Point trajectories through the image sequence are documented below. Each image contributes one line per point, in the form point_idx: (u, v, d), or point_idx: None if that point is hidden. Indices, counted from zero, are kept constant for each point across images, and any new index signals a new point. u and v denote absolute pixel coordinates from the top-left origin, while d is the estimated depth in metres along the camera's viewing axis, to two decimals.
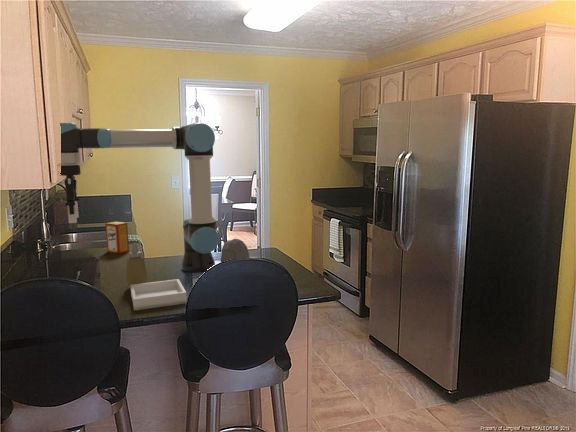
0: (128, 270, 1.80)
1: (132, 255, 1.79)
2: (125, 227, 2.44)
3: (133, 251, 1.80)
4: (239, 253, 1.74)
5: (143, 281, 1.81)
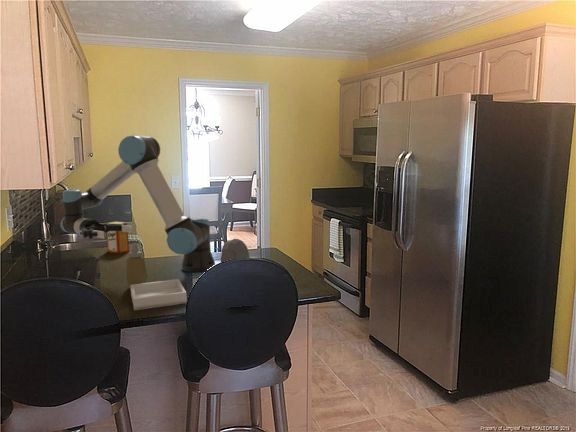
0: (128, 270, 1.80)
1: (132, 255, 1.79)
2: None
3: (133, 251, 1.80)
4: (239, 253, 1.74)
5: (143, 281, 1.81)
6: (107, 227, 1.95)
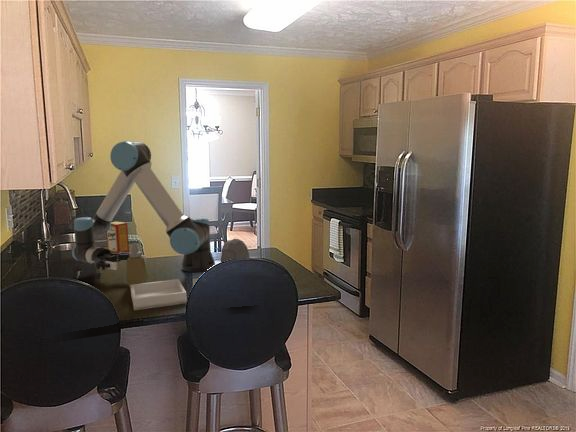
0: (128, 270, 1.80)
1: (132, 255, 1.79)
2: (125, 227, 2.44)
3: (133, 251, 1.80)
4: (239, 253, 1.74)
5: (143, 281, 1.81)
6: (119, 256, 1.92)
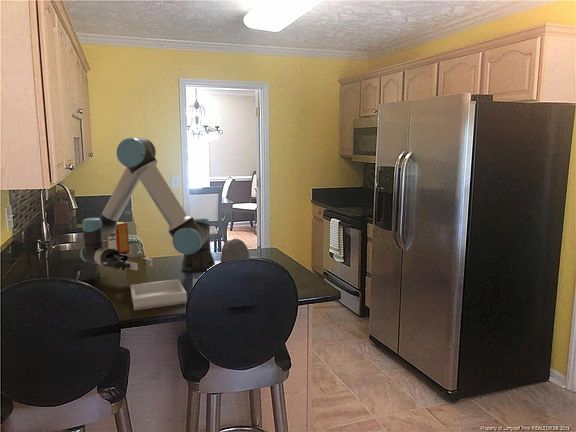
0: (128, 270, 1.80)
1: (132, 255, 1.79)
2: (125, 227, 2.44)
3: (133, 251, 1.80)
4: (239, 253, 1.74)
5: (143, 281, 1.81)
6: (127, 258, 1.88)
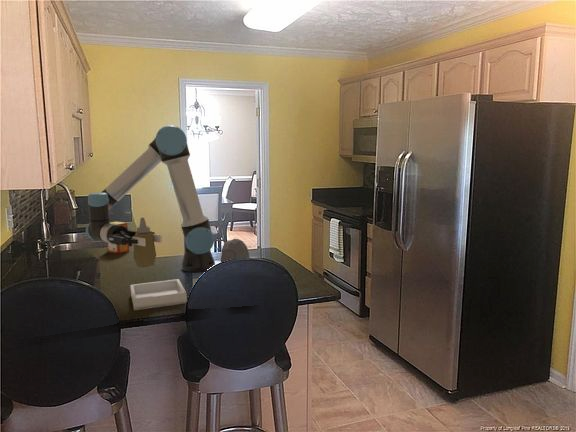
0: (135, 246, 1.67)
1: (140, 230, 1.66)
2: None
3: (141, 226, 1.67)
4: (239, 253, 1.74)
5: (151, 258, 1.68)
6: None
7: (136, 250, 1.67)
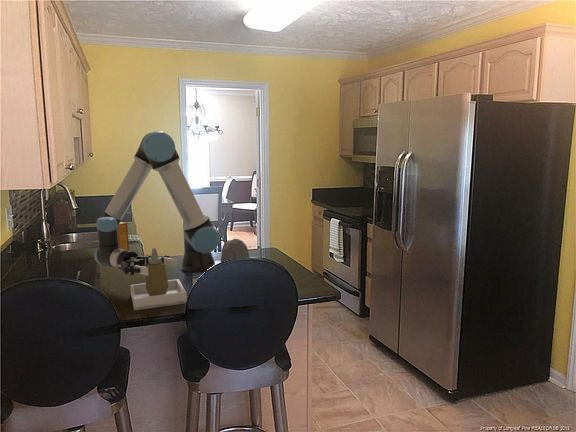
0: (148, 278, 1.65)
1: (152, 261, 1.65)
2: (125, 227, 2.44)
3: (153, 257, 1.66)
4: (239, 253, 1.74)
5: (164, 289, 1.67)
6: (147, 260, 1.75)
7: (148, 281, 1.65)
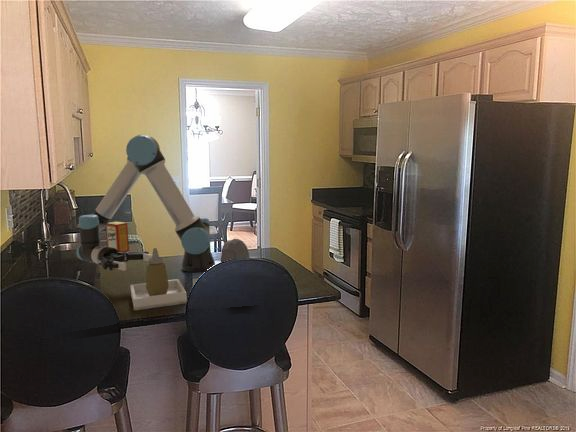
0: (148, 278, 1.65)
1: (152, 261, 1.65)
2: (125, 227, 2.44)
3: (153, 257, 1.66)
4: (239, 253, 1.74)
5: (164, 289, 1.67)
6: (127, 256, 1.81)
7: (149, 281, 1.65)
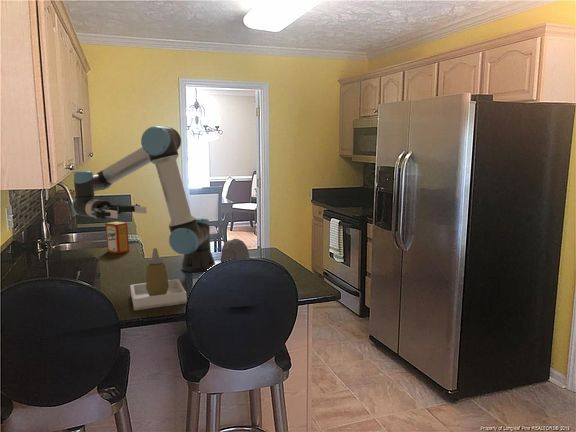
0: (148, 278, 1.65)
1: (152, 261, 1.65)
2: (125, 227, 2.44)
3: (153, 257, 1.66)
4: (239, 253, 1.74)
5: (164, 289, 1.67)
6: (119, 208, 1.90)
7: (149, 281, 1.65)
